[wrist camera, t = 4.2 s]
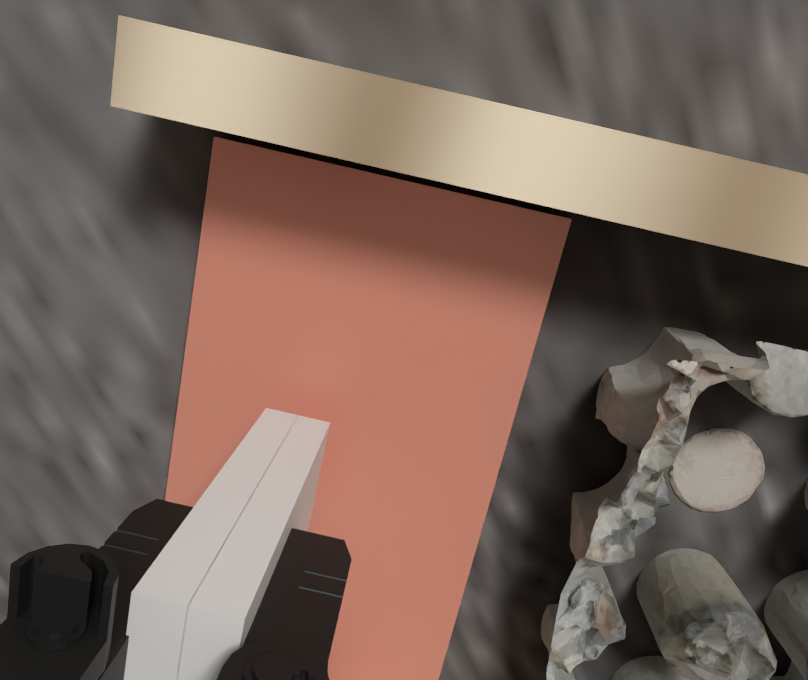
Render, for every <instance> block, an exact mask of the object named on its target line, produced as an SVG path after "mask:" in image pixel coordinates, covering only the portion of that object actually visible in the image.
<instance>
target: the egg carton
mask: <svg viewBox="0 0 808 680" xmlns="http://www.w3.org/2000/svg"><path fill="white" fill-rule="evenodd" d="M756 345H757V349H758V359H757V358H750V357H744V356H738V355H737V354H736V353H732V352H730V351H729V350H728V349H726V348H725V347H723V346H722V345H721V344H719V343H718V342H717V341H715V340H713V339H711V338H708V337H707V336H706V335H704V334H702V333H699V332H695V331H690V330H683V329H678V328H673V327H664V328H663V329H662V330H661V332H660V333H659V335H658V337H657V338H656V339H655V341H654V342H653V343H652V345H651V346H650V348H649V349H648V350H647V351H646V352H645V353H643V354H642V355H641V356H640V357H639V358H637V359H635V360H633V361H631V362H629V363H627V364H624V365H619V366H613V367H609V368H608V369H607V370H606V372H605V373H604V375H603V376H602V378H601V381H600V384H599V387H598V394H597V400H596V409H597V410H596V417H595V418H596V419H600V420H601V421H602V422H603V423H604V424H605V425H606V426H607V428H608V430H609V432H610V433H611V434H612V435H613V436H614V437H615V438H617V439H618V440H619V441H620V442H622V443H624V444H625V445H627V457H626V460H625V463H624V465H623V467H622V469H621V470H620V472H619V473H618V474H617V475H616V476H615V477H614V478H612V479H611V480H610V481H609V482H608V483H606V484H605V485H603V486H601V487H600V488H598V489H595V490H591V491H586V492H575V493H573V496H572V506H571V526H570V528H571V535H570V549H571V551H572V553H573V554H574V557H575V560H576V565H575V567H574V569H573V571H572V573H571V575H570V577H569V579H568V581H567V583H566V585H565V587H564V589H563V590H562V592H561V596H560V601H559V604H549V605H547V607H546V610H545V612H544V614H543V617H542V622H541V638H542V640H543V642H544V644H545V646H546V647H547V649H548V652H549V661H548V665H547V669H546V677H547V680H575V678H574V674H573V671H572V670H573V668H574V667H575V666H576V665H578V664H579V663H581V662H583V661H589V660H596V659H597V658H598V657H599V656H600V655H601V653H602V652H603V651H604V650H605V648H606V647H607V646H608V644H611V643H614V642H617V641H620V640H623V639H625V632H626V622H625V621H624V619H623V618H622V616H621V614H620V611H619V608H618V605H617V602H616V599H615V597H614V594H613V592H612V589H611V587H610V584H609V582H608V579H607V577H606V575H605V572H604V570H603V568H602V566H609V565H613V564H618V563H622V562H624V561H626V560H629V559H631V558H633V557H635V537H636V536H638V535H640V534H642V533H644V532H645V531H646V530H647V529H649V528H650V527H651V526H653V525H654V524H655V523H656V515H657V514H658V511H659V507H663V506H667V505H670V499H669V493H668V490H667V486H666V483H665V478H664V476H663V474H664V472H665V471H666V470H667V469H668V468H669V467H671V470H670V472H669V475H670V479H669V481H670V483H671V486H672V488H673V490H674V492H675V494H676V495H677V496H678V497H679V498H680V500H681V501H682V502H684V503H685V504H687V505H688V506H690V507H691V508H694V509H697V510H700V511H703V512H719V511H724V510H729V509H732V508H734V507H736V506H738V505H739V504H741V503H743V502H745V501H746V500H748V499H749V498H750V496H751V495H752V493H753V492H754V491H755V489H756V488H757V486H758V485H759V484H760V482H761V481H762V479H763V478H764V471H765V465H764V460H763V455H762V453H761V451H760V449H759V448H758V446H757V445H756V444H755V443H754V442H753V440H752V439H751V438H750V437H749V436H748V435H746V434H745V433H743V432H741V431H738V430H735V429H731V428H712V429H710V430H706V431H702V432H699V433H697V434H694V435H692V436H691V437H690V438H689V439H688V440H686V441H685V442H684V437H685V433H686V429H687V425H688V421H689V416H690V411H691V409H692V407H693V404H694V402H695V400H696V398H697V397H698V396H699V395H700V394H701V393H702V392H703V391H704V390H705V389H706V388H707V387H708V386H711V385H714V384H717V383H720V382H723V381H725V382H727V383H728V384H729V385H730V386H732V387H733V388H734V389H736V390H737V391H738V392H740V393H741V394H742V395H744V396H745V397H747V398H748V399H749V400H750V401H752V402H753V403H755V404H756V405H758V406H760V407H762V408H763V409H765V410H767V411H768V412H770V413H772V414H773V415H778V416H785V417H799V416H805V415H808V349H805V351H803V350H798V349H794V348H790V347H786V346H782V345H777V344H772V343H768V342H763V341H756ZM683 442H684V443H683ZM805 506H806V508H807V510H808V480H807V483H806V488H805ZM637 598H638V600H639V602H640V605H641V607H642V609H643V612H644V614H645V616H646V619H647V621H648V623H649V625H650V628H651V630H652V632H653V635H654V637H655V640H656V642H657V645H658V647H659V649H660V651H661V653H662V655H663V656H664V657H661V656H644V657H640V658H637V659H633V660H631V661H629V662H627V663H625V664H624V665H622V666H621V667H620V668H619V669H618V670H617V671H616V672H615V673H614V675H613V676H612V678H611V680H808V570H804V571H800V572H797V573H794V574H792V575H790V576H788V577H786V578H784V579H783V580H781V581H780V582H779V583H777V584H776V585H775V586H774V588H773V589H772V591H771V592H770V594H769V596H768V598H767V600H766V603H765V606H764V617H765V622H766V624H767V625H768V627H769V629H770V630H771V632H772V633H773V635H774V636H775V637H776V639H777V640H778V641H779V643H780V644H781V645H782V647H783V648H784V649H785V651H786V653H787V654H788V656H789V657H790V659H791V660H792V661H791V664H790V667H789V669H788V672H787V673H786V675H784V676H772V675H773V674H774V673H775V671H776V666H777V660H776V657H775V655H774V652H773V650H772V647H771V645H770V642H769V639H768V636H767V634H766V631H765V628H764V625H763V624H762V622H761V621H760V619H759V618H758V617H757V615H756V614H755V612H754V611H753V609H752V608H751V606H750V605H749V604H748V602H747V601H746V599H745V598H744V596H743V595H742V594H741V592H740V591H739V589H738V588H737V586H736V585H735V583H734V582H733V581H732V579H731V578H730V577H729V575H728V574H727V573H726V571H725V570H724V569H723V567H722V566H721V565H720V564H719V563H718V562H717V561H716V560H715V558H714V557H713V556H711V555H709V554H707V553H705V552H702V551H700V550H697V549H688V548H681V549H673V550H668V551H666V552H664V553H662V554H660V555H658V556H656V557H655V558H654V559H653V560H651V561H650V562H649V563H648V564H647V565H646V566H645V568H644V569H643V570H642V571H641V573H640V575H639V578H638V582H637ZM653 641H654V640H653Z"/></svg>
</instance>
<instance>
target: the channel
mask: <svg viewBox="0 0 808 680" xmlns="http://www.w3.org/2000/svg"><path fill="white" fill-rule="evenodd" d="M110 106H113V107H117V108H122V109H126V110H130V111H135V112H139V113H143V114H148V115H152V116H156V117H161V118H165V119H169V120H174V121H178V122H182V123H187V124H191V125H195V126H200V127H204V128H208V129H213V130H217V131H221V132H226V133H230V134H234V135H239V136H243V137H247V138H252V139H256V140H260V141H265V142H269V143H273V144H278V145H282V146H286V147H291V148H295V149H299V150H304V151H308V152H312V153H317V154H321V155H325V156H330V157H334V158H338V159H343V160H347V161H351V162H356V163H360V164H364V165H369V166H373V167H377V168H382V169H386V170H390V171H395V172H399V173H403V174H408V175H412V176H416V177H421V178H425V179H429V180H434V181H438V182H442V183H447V184H451V185H455V186H460V187H464V188H468V189H473V190H477V191H481V192H486V193H490V194H494V195H499V196H503V197H507V198H512V199H516V200H520V201H525V202H529V203H533V204H538V205H542V206H546V207H551V208H555V209H559V210H564V211H568V212H572V213H577V214H581V215H585V216H590V217H594V218H598V219H603V220H607V221H611V222H616V223H620V224H624V225H629V226H633V227H637V228H642V229H646V230H650V231H655V232H659V233H663V234H668V235H672V236H676V237H681V238H685V239H689V240H694V241H698V242H702V243H707V244H711V245H715V246H720V247H724V248H728V249H733V250H737V251H741V252H746V253H750V254H754V255H759V256H763V257H767V258H772V259H776V260H780V261H785V262H789V263H793V264H798V265H802V266H806V267H808V175H807V174H803V173H799V172H794V171H790V170H786V169H782V168H777V167H773V166H769V165H764V164H760V163H756V162H751V161H747V160H743V159H738V158H734V157H730V156H725V155H721V154H717V153H712V152H708V151H704V150H699V149H695V148H691V147H686V146H682V145H678V144H673V143H669V142H665V141H660V140H656V139H652V138H648V137H643V136H639V135H635V134H630V133H626V132H622V131H617V130H613V129H609V128H604V127H600V126H596V125H591V124H587V123H583V122H578V121H574V120H570V119H565V118H561V117H557V116H552V115H548V114H544V113H539V112H535V111H531V110H526V109H522V108H518V107H514V106H509V105H505V104H501V103H496V102H492V101H488V100H483V99H479V98H475V97H470V96H466V95H462V94H457V93H453V92H449V91H444V90H440V89H436V88H431V87H427V86H423V85H418V84H414V83H410V82H405V81H401V80H397V79H392V78H388V77H384V76H380V75H375V74H371V73H367V72H362V71H358V70H354V69H349V68H345V67H341V66H336V65H332V64H328V63H323V62H319V61H315V60H310V59H306V58H302V57H297V56H293V55H289V54H284V53H280V52H276V51H271V50H267V49H263V48H258V47H254V46H250V45H246V44H241V43H237V42H233V41H228V40H224V39H220V38H215V37H211V36H207V35H202V34H198V33H194V32H189V31H185V30H181V29H176V28H172V27H168V26H163V25H159V24H155V23H150V22H146V21H142V20H137V19H133V18H129V17H124V16H120V15H119V16H118V27H117V38H116V49H115V60H114V71H113V82H112V93H111V104H110Z"/></svg>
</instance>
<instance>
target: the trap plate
mask: <svg viewBox="0 0 808 680" xmlns="http://www.w3.org/2000/svg"><path fill="white" fill-rule="evenodd" d="M571 220H572V219H570V218H567V217H563V216H558V215H554V214H550V213H545V212H541V211H537V210H532V209H528V208H524V207H519V206H515V205H511V204H506V203H502V202H498V201H493V200H489V199H485V198H480V197H476V196H472V195H467V194H463V193H459V192H454V191H450V190H446V189H441V188H437V187H433V186H428V185H424V184H420V183H415V182H411V181H407V180H402V179H398V178H394V177H389V176H385V175H381V174H376V173H372V172H368V171H363V170H359V169H355V168H350V167H346V166H342V165H337V164H333V163H329V162H324V161H320V160H316V159H311V158H307V157H303V156H298V155H294V154H290V153H285V152H281V151H277V150H272V149H268V148H264V147H259V146H255V145H251V144H246V143H242V142H238V141H233V140H229V139H225V138H220V137H214V139H213V146H212V154H211V161H210V169H209V176H208V184H207V191H206V199H205V206H204V213H203V221H202V228H201V236H200V243H199V251H198V258H197V266H196V273H195V280H194V288H193V295H192V303H191V310H190V318H189V325H188V333H187V340H186V347H185V355H184V362H183V370H182V377H181V385H180V392H179V400H178V407H177V414H176V422H175V429H174V437H173V444H172V452H171V459H170V467H169V474H168V481H167V489H166V496H165V501H168V502H173V503H177V504H181V505H186V506H190V507H194V506H195V505H196V503H197V502H198V500H199V499H200V498H201V496H202V495H203V494H204V492H205V491H206V489H207V488H208V487H209V485H210V484H211V483H212V481H213V480H214V479H215V477H216V476H217V474H218V473H219V472H220V470H221V469H222V468H223V466H224V465H225V463H226V462H227V461H228V459H229V458H230V457H231V455H232V454H233V453H234V451H235V450H236V448H237V447H238V446H239V444H240V443H241V442H242V440H243V439H244V437H245V436H246V435H247V433H248V432H249V431H250V429H251V428H252V426H253V425H254V424H255V422H256V421H257V420H258V418H259V417H260V416H261V414H262V413H263V411H264V410H265V409H266V408H269V409H274V410H278V411H282V412H287V413H291V414H295V415H300V416H304V417H308V418H313V419H317V420H321V421H326V422H330V427H329V432H328V436H327V441H326V446H325V451H324V456H323V461H322V465H321V470H320V475H319V480H318V485H317V490H316V494H315V499H314V504H313V509H312V514H311V519H310V523H309V527H308V530H307V532H312V533H316V534H321V535H325V536H329V537H334V538H338V539H342V540H345V543H346V545H347V548H348V551H349V553H350V556H351V559H352V560H351V564H350V569H349V573H348V577H347V582H346V586H345V590H344V595H343V599H342V603H341V608H340V612H339V616H338V621H337V625H336V629H335V634H334V638H333V642H332V647H331V651H330V656H329V660H328V676H329V680H438V679H439V676H440V672H441V669H442V665H443V662H444V658H445V655H446V652H447V648H448V645H449V641H450V638H451V634H452V631H453V627H454V624H455V621H456V617H457V614H458V610H459V607H460V603H461V600H462V596H463V593H464V589H465V586H466V583H467V579H468V576H469V572H470V569H471V565H472V562H473V558H474V555H475V552H476V548H477V545H478V541H479V538H480V534H481V531H482V527H483V524H484V520H485V517H486V514H487V510H488V507H489V503H490V500H491V496H492V493H493V489H494V486H495V483H496V479H497V476H498V472H499V469H500V465H501V462H502V458H503V455H504V451H505V448H506V445H507V441H508V438H509V434H510V431H511V427H512V424H513V420H514V417H515V413H516V410H517V407H518V403H519V400H520V396H521V393H522V389H523V386H524V382H525V379H526V376H527V372H528V369H529V365H530V362H531V358H532V355H533V351H534V348H535V344H536V341H537V338H538V334H539V331H540V327H541V324H542V320H543V317H544V313H545V310H546V307H547V303H548V300H549V296H550V293H551V289H552V286H553V282H554V279H555V275H556V272H557V269H558V265H559V262H560V258H561V255H562V251H563V248H564V244H565V241H566V238H567V234H568V231H569V227H570V224H571Z"/></svg>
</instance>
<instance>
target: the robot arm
mask: <svg viewBox="0 0 808 680" xmlns="http://www.w3.org/2000/svg"><path fill="white" fill-rule="evenodd" d="M329 427H330V422H326V421H321V420H317V419H313V418H308V417H304V416H300V415H295V414H291V413H287V412H282V411H278V410H274V409H269V408H266V409H265V410H264V411H263V413H262V414H261V416H260V417H259V418H258V420H257V421H256V422H255V424H254V425H253V426H252V428H251V429H250V431H249V432H248V433H247V435H246V436H245V437H244V439H243V440H242V442H241V443H240V444H239V446H238V447H237V448H236V450H235V451H234V453H233V454H232V455H231V457H230V458H229V459H228V461H227V462H226V463H225V465H224V466H223V468H222V469H221V470H220V472H219V473H218V474H217V476H216V477H215V479H214V480H213V481H212V483H211V484H210V485H209V487H208V488H207V489H206V491H205V492H204V494H203V495H202V496H201V498H200V499H199V500H198V502H197V503H196V505H195V506H194V507H190V506H186V505H181V504H177V503H173V502H168V501H164V500H160V499H156V500H154V501H152V502H150V503H148V504H146V505H144V506H142V507H140V508H138V509H136V510H134V511H133V512H132V513H131V514H130V515H129V516H128V517H127V518H126V519H125V520H124V522H123V523H122V524H121V525H120V526H119V527H118V529H117V531H116V532H114V533H113V534H112V535H111V536H110V537H109V538H108V539H107V540H106V542H105V544H104V546H101V547H100V548H99V549H96V548H94V547H91V546H86V545H76V544H63V545H55V546H47V547H44V548H41V549H38V550H35V551H32V552H29V553H27V554H25V555H24V556H22V557H21V558H19V559H18V560H16V561H15V562H13V563H12V564H11V569H10V585H9V600H8V615H7V619H6V620H5V621H4V622H3V623H2V624H1V625H0V680H329V676H328V660H329V656H330V651H331V647H332V642H333V638H334V634H335V629H336V625H337V621H338V616H339V612H340V608H341V603H342V599H343V595H344V590H345V586H346V582H347V577H348V573H349V569H350V564H351V560H352V559H351V556H350V553H349V551H348V548H347V545H346V543H345V540H342V539H338V538H334V537H329V536H325V535H321V534H316V533H312V532H307V530H308V527H309V523H310V519H311V514H312V509H313V504H314V499H315V494H316V490H317V485H318V480H319V475H320V470H321V465H322V461H323V456H324V451H325V446H326V441H327V436H328V432H329Z"/></svg>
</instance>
